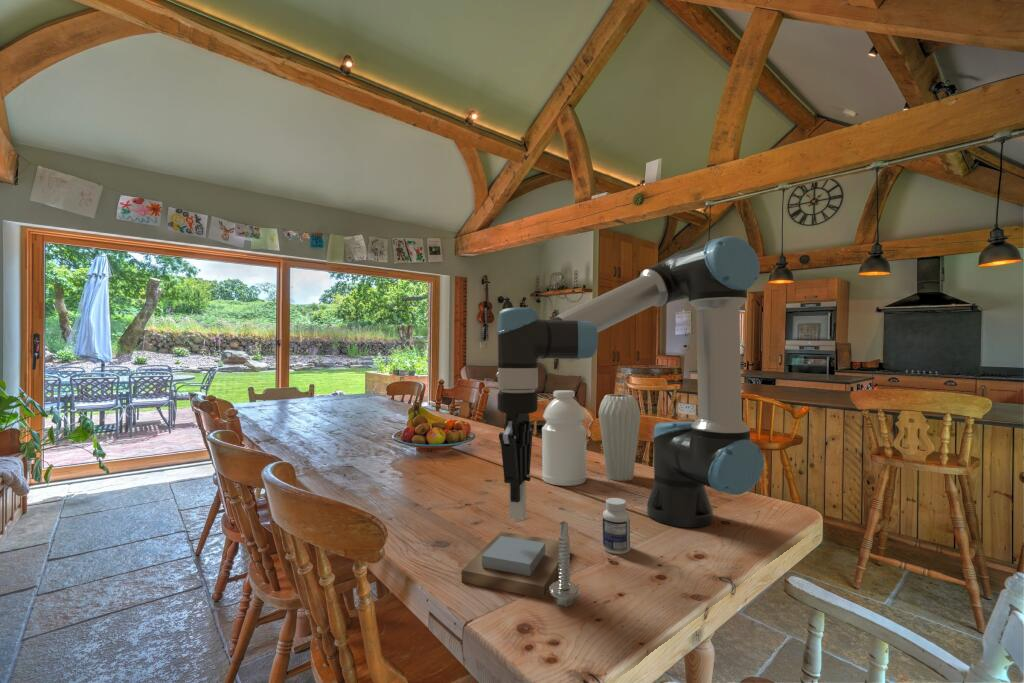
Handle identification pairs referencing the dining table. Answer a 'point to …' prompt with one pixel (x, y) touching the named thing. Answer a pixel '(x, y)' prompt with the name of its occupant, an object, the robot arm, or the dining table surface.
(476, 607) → the dining table surface
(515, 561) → the tile
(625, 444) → the vase
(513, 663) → the dining table surface
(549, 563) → the board
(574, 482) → the bottle
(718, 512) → the dining table surface
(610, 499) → the pill bottle
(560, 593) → the screw
